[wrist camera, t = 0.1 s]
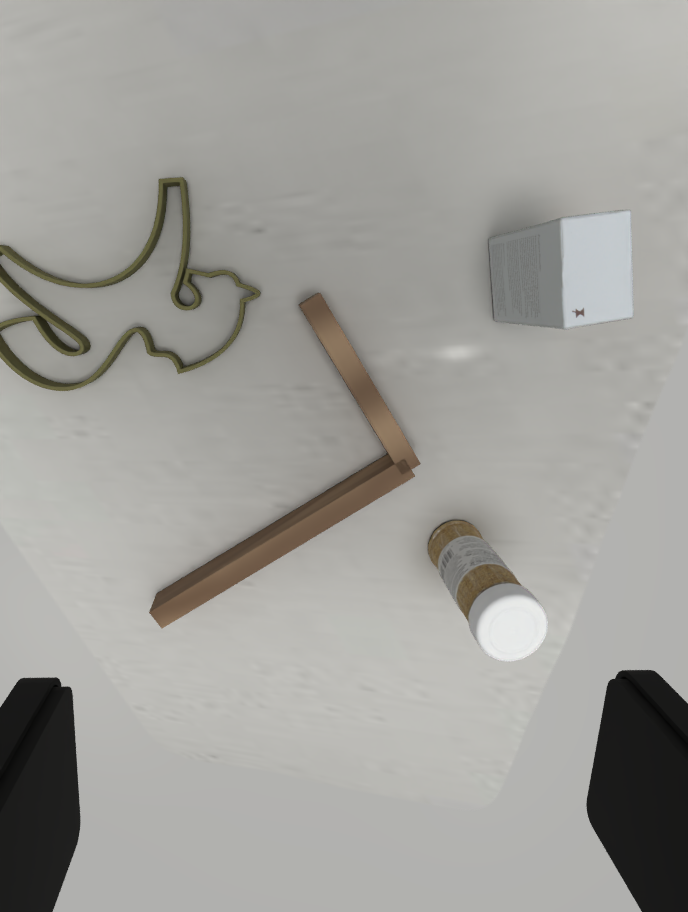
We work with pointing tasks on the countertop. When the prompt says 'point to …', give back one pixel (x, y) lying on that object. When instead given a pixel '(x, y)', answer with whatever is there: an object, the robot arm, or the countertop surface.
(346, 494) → the walnut fence
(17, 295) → the cookie cutter
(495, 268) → the skincare box
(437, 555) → the sprinkles bottle
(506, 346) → the countertop surface
